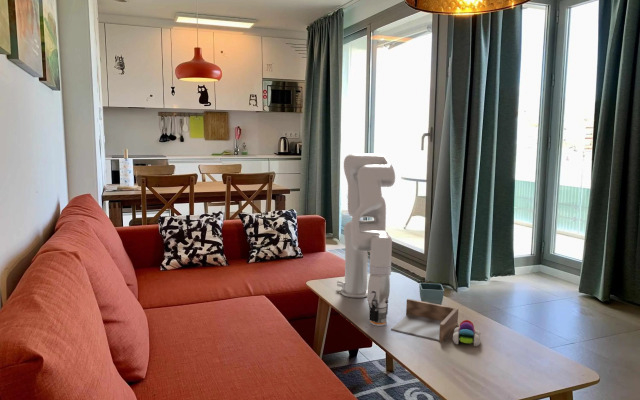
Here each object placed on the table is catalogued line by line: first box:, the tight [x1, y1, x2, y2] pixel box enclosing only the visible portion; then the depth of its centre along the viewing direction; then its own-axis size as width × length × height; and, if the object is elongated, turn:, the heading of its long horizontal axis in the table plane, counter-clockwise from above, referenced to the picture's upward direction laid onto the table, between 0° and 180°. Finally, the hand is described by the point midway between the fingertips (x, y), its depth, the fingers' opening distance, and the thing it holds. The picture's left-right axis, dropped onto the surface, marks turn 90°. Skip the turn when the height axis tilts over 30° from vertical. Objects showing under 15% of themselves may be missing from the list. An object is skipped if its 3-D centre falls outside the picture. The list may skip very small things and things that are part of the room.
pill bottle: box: [369, 298, 388, 327], centre depth 177 cm, size 6×6×10 cm
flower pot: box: [418, 282, 445, 305], centre depth 194 cm, size 9×9×9 cm
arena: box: [390, 298, 459, 343], centre depth 175 cm, size 19×19×6 cm
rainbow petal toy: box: [452, 319, 481, 348], centre depth 163 cm, size 8×10×7 cm
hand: (378, 317), depth 178 cm, fingers open, 7 cm apart
